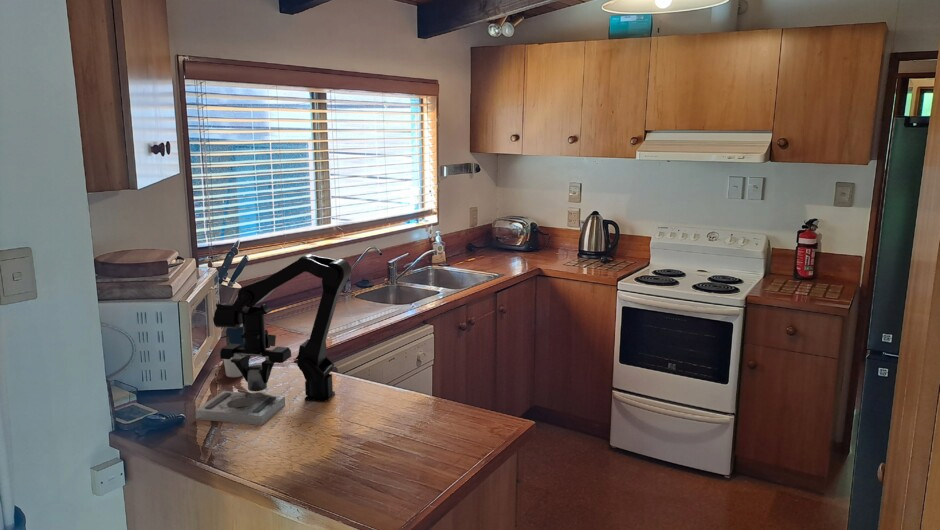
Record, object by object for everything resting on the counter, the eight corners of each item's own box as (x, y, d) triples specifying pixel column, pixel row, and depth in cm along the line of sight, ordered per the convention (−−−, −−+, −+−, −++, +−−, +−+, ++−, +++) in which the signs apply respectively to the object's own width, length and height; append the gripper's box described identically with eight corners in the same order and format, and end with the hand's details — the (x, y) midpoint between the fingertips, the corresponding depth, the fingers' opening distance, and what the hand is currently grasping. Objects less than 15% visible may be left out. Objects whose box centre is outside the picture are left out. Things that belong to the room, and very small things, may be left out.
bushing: (270, 385, 191) (268, 364, 189) (261, 392, 186) (260, 371, 185) (253, 384, 191) (252, 363, 190) (244, 390, 187) (243, 369, 185)
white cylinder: (223, 378, 200) (221, 356, 198) (224, 371, 206) (223, 349, 205) (247, 376, 202) (246, 354, 200) (248, 369, 208) (247, 347, 207)
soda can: (254, 357, 219) (252, 322, 216) (245, 365, 212) (242, 328, 209) (233, 356, 219) (231, 321, 217) (224, 364, 212) (221, 327, 210)
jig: (285, 404, 181) (284, 395, 181) (261, 425, 169) (261, 414, 168) (223, 399, 184) (222, 390, 184) (196, 419, 172) (195, 408, 171)
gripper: (298, 322, 191) (300, 374, 194) (237, 318, 195) (241, 370, 198) (280, 333, 181) (283, 388, 184) (216, 329, 184) (220, 384, 187)
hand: (257, 382), depth 188 cm, fingers closed on bushing, 5 cm apart
